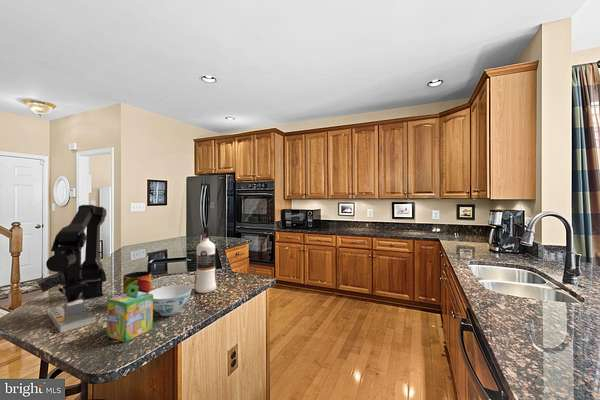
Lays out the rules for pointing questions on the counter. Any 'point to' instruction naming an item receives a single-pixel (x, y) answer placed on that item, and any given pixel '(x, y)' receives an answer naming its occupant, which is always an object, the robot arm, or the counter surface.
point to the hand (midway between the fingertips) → (70, 307)
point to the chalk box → (129, 314)
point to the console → (70, 318)
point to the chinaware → (170, 299)
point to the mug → (137, 281)
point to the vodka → (205, 264)
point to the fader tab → (74, 307)
